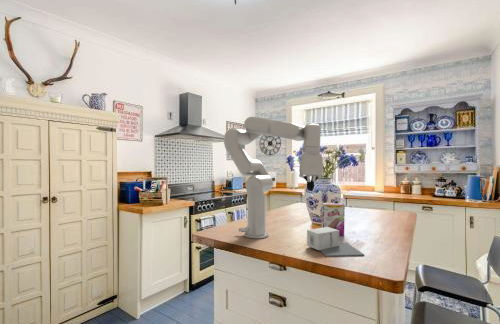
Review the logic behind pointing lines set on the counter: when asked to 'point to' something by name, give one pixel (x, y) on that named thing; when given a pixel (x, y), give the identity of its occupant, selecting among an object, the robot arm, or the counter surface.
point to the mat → (341, 251)
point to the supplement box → (322, 238)
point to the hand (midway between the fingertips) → (310, 190)
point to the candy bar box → (333, 216)
